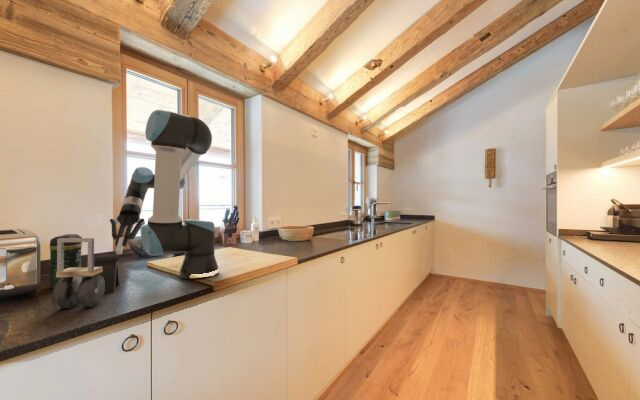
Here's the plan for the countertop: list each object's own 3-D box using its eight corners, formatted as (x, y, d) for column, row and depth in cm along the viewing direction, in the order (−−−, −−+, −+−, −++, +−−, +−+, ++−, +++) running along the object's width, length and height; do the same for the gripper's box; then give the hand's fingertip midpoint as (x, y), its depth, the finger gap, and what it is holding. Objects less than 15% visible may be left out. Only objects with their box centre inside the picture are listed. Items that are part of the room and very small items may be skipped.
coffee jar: (73, 288, 97) (74, 235, 97) (44, 290, 94) (45, 236, 94) (85, 280, 106) (85, 232, 106) (58, 282, 103) (59, 233, 103)
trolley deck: (102, 271, 84) (102, 266, 84) (92, 276, 79) (92, 270, 79) (68, 272, 82) (68, 267, 82) (56, 277, 77) (56, 272, 77)
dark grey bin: (113, 292, 93) (113, 257, 93) (91, 294, 91) (91, 258, 91) (120, 284, 101) (120, 252, 101) (100, 286, 99) (100, 253, 99)
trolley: (105, 300, 86) (105, 235, 86) (86, 311, 77) (87, 239, 77) (73, 301, 84) (74, 235, 84) (51, 313, 76) (51, 239, 76)
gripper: (149, 214, 129) (139, 256, 114) (116, 214, 125) (101, 258, 109) (146, 203, 124) (135, 246, 109) (112, 203, 120) (95, 247, 104)
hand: (118, 252), depth 109 cm, fingers closed
